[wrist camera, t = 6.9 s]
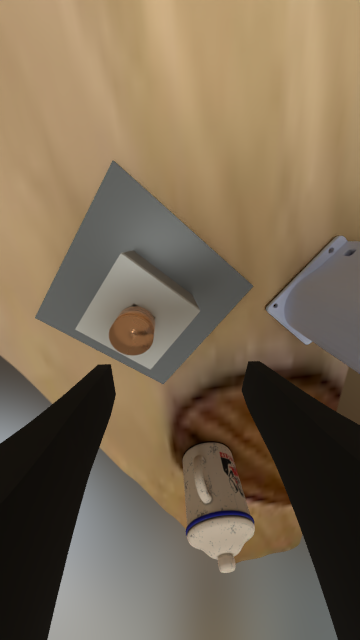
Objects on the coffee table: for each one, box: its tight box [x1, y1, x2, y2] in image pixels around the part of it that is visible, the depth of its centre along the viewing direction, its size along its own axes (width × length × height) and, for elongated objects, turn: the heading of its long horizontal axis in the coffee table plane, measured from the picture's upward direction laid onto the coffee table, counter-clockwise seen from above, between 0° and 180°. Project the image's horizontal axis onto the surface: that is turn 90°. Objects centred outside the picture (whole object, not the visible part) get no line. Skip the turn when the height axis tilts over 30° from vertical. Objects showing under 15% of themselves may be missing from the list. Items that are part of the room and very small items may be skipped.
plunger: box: [109, 303, 155, 356], centre depth 14 cm, size 5×5×6 cm
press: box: [35, 161, 253, 384], centre depth 16 cm, size 16×16×5 cm
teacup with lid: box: [183, 442, 255, 573], centre depth 24 cm, size 12×9×12 cm
